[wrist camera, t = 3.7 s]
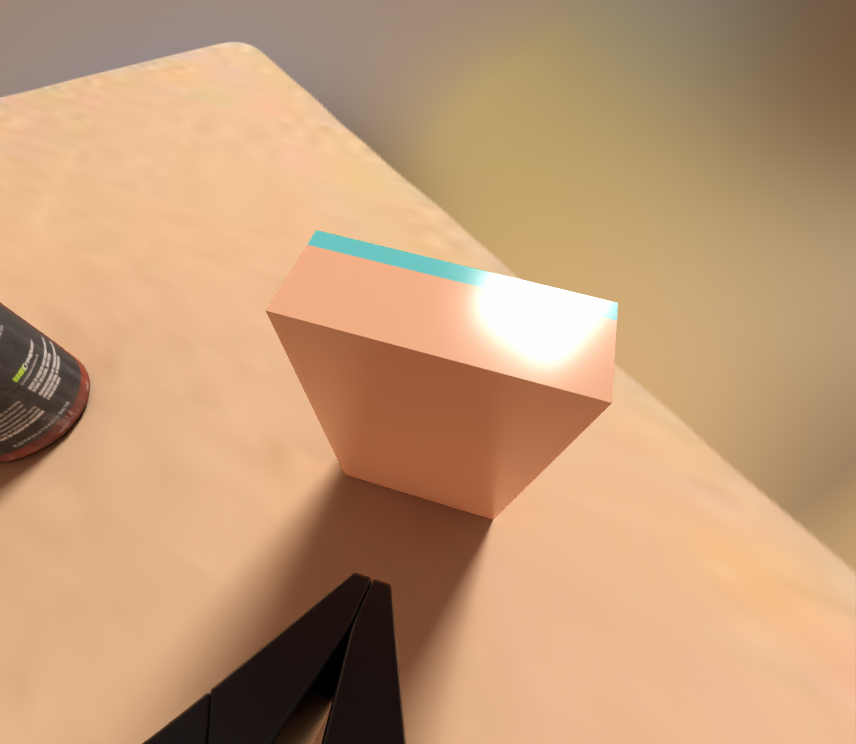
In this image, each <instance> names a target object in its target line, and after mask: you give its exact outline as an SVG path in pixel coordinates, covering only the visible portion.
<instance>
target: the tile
mask: <svg viewBox="0 0 856 744" xmlns="http://www.w3.org/2000/svg"><path fill="white" fill-rule="evenodd" d="M617 309H618V303H616V302H612V301H608V300H603V299H599V298H595V297H590V296H586V295H583V294H578V293H574V292H570V291H566V290H562V289H557V288H554V287H549V286H545V285H541V284H537V283H533V282H529V281H525V280H520V279H516V278H512V277H508V276H504V275H500V274H496V273H491V272H487V271H483V270H479V269H475V268H471V267H466V266H462V265H458V264H454V263H450V262H446V261H442V260H437V259H433V258H429V257H425V256H421V255H417V254H413V253H408V252H404V251H400V250H396V249H392V248H388V247H384V246H379V245H375V244H371V243H367V242H363V241H359V240H355V239H350V238H346V237H342V236H338V235H334V234H330V233H325V232H321V231H317V230H316V232H315V233H314V235H313V236H312V238H311V240H310V241H309V243H308V244H307V246H306V248H305V249H304V251H303V252H302V254H301V255H300V257H299V259H298V260H297V262H296V263H295V265H294V267H293V268H292V270H291V271H290V273H289V274H288V276H287V278H286V279H285V281H284V282H283V284H282V286H281V287H280V289H279V290H278V292H277V293H276V295H275V297H274V298H273V300H272V301H271V303H270V305H269V306H268V308H267V309H266V312H267V314H268V316H269V318H270V320H271V323H272V325H273V327H274V329H275V331H276V333H277V335H278V337H279V339H280V341H281V343H282V345H283V347H284V349H285V351H286V353H287V356H288V358H289V360H290V362H291V364H292V366H293V368H294V370H295V372H296V374H297V376H298V378H299V380H300V382H301V384H302V387H303V389H304V391H305V393H306V395H307V397H308V399H309V401H310V403H311V405H312V407H313V409H314V411H315V413H316V415H317V417H318V420H319V422H320V424H321V426H322V428H323V430H324V432H325V434H326V436H327V438H328V440H329V442H330V444H331V446H332V448H333V450H334V453H335V455H336V457H337V459H338V461H339V463H340V465H341V467H342V469H343V471H344V473H345V475H348V476H351V477H355V478H358V479H361V480H364V481H368V482H371V483H374V484H378V485H381V486H384V487H387V488H391V489H394V490H397V491H400V492H404V493H407V494H410V495H414V496H417V497H420V498H423V499H427V500H430V501H433V502H437V503H440V504H443V505H446V506H450V507H453V508H456V509H459V510H463V511H466V512H469V513H473V514H476V515H479V516H482V517H486V518H489V519H492V520H493V519H494V518H495V517H496V516H498V515H499V514H500V513H501V512H502V511H503V510H504V509H505V508H506V507H507V506H508V505H509V504H510V503H511V502H512V501H513V500H514V499H515V498H516V497H517V496H518V495H519V494H520V493H521V492H522V491H523V490H524V489H525V488H526V487H527V486H528V485H529V484H530V483H531V482H532V481H533V480H534V479H535V478H536V477H537V476H538V475H539V474H540V473H541V472H542V471H543V470H544V469H545V468H546V467H547V466H548V465H549V464H550V463H551V462H552V461H553V460H554V459H555V458H556V457H557V456H558V455H559V454H560V453H562V452H563V451H564V450H565V449H566V448H567V447H568V446H569V445H570V444H571V443H572V442H573V441H574V440H575V439H576V438H577V437H578V436H579V435H580V434H581V433H582V432H583V431H584V430H585V429H586V428H587V427H588V426H589V425H590V424H591V423H592V422H593V421H594V420H595V419H596V418H597V417H598V416H599V415H600V414H601V413H602V412H603V411H604V410H605V409H606V408H607V407H608V406H609V405H610V404H611V403H612V393H613V376H614V360H615V359H614V358H615V341H616V326H617Z"/></svg>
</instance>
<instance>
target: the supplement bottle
mask: <svg viewBox="0 0 856 744" xmlns="http://www.w3.org/2000/svg"><path fill="white" fill-rule="evenodd" d="M89 390H90V380H89V376H88V373H87V371H86V369H85V367H84V366H83V365H82V363H81V362H80V361H79V360H78V359H76V358H75V357H74V356H72V355H71V354H70V353H68V352H67V351H65V350H64V349H63V348H62V347H61V346H59V345H58V344H57V343H55V342H54V341H52V340H51V339H50V338H48V337H47V336H46V335H44V334H43V333H42V332H40V331H39V330H37V329H36V328H35V327H33V326H32V325H30V324H29V323H28V322H26V321H25V320H23V319H22V318H21V317H19V316H18V315H16V314H15V313H14V312H12V311H11V310H10V309H8V308H7V307H5V306H4V305H3V304H1V303H0V462H5V461H11V460H15V459H19V458H23V457H25V456H27V455H30V454H31V453H35V452H37V451H39V450H40V449H43V448H44V447H45V446H47V445H49V444H50V443H52V442H54V441H55V440H57V439H58V438H59V437H60V436H62V435H63V434H64V433H65V432H66V431H67V430H68V429H69V428H70V427H71V426H72V424H73V423H74V422H75V421H76V419H77V418H78V417H79V416H80V414H81V412H82V411H83V409H84V407H85V405H86V402H87V399H88V396H89Z"/></svg>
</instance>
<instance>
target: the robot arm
mask: <svg viewBox="0 0 856 744" xmlns="http://www.w3.org/2000/svg"><path fill="white" fill-rule="evenodd" d="M329 710H330V712H329ZM328 712H329V716H328V720H327V724H326V728H325V732H324V736H323V740H322V744H406V741H405V730H404V719H403V708H402V697H401V686H400V675H399V664H398V653H397V642H396V631H395V620H394V609H393V598H392V588H391V585H390V584H388V583H385V582H382V581H379V580H373V581H371V578H369V577H367V576H364V575H360V574H357V573H353V574H352V575H350V576H349V577H348V578H347V579H345V580H344V581H343V582H342V583H340V584H339V585H338V586H337V587H336V588H334V589H333V590H332V591H331V592H329V593H328V594H327V595H326V596H325V597H323V598H322V599H321V600H320V601H319V602H317V603H316V604H315V605H314V606H312V607H311V608H310V609H309V610H308V611H306V612H305V613H304V614H303V615H301V616H300V617H299V618H298V619H297V620H295V621H294V622H293V623H292V624H290V625H289V626H288V627H287V628H286V629H284V630H283V631H282V632H281V633H279V634H278V635H277V636H276V637H275V638H273V639H272V640H271V641H270V642H268V643H267V644H266V645H265V646H264V647H262V648H261V649H260V650H259V651H257V652H256V653H255V654H254V655H253V656H251V657H250V658H249V659H248V660H247V661H245V662H244V663H243V664H242V665H240V666H239V667H238V668H237V669H236V670H234V671H233V672H232V673H231V674H229V675H228V676H227V677H226V678H225V679H223V680H222V681H221V682H220V683H218V684H217V685H216V686H215V687H214V688H212V689H211V691H210V694H209V693H206V694H205V695H203V696H202V697H201V698H200V699H199V700H197V701H196V702H195V703H194V704H193V705H191V706H190V707H189V708H188V709H186V710H185V711H184V712H183V713H181V714H180V715H179V716H178V717H176V718H175V719H174V720H172V721H171V722H170V723H169V724H167V725H166V726H165V727H163V728H162V729H161V730H160V731H158V732H157V733H156V734H155V735H153V736H152V737H151V738H149V739H148V740H146V741H145V742H144V743H142V744H314V742H315V740H316V738H317V736H318V734H319V732H320V729H321V727H322V725H323V723H324V721H325V719H326V717H327V714H328Z"/></svg>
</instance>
